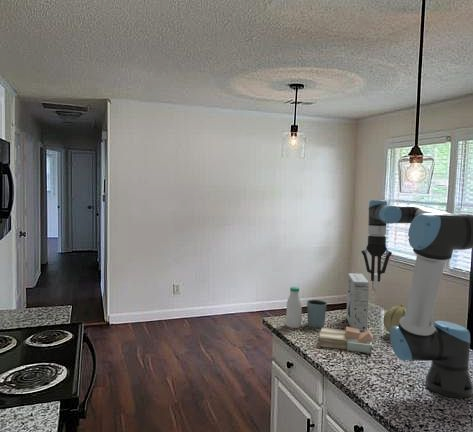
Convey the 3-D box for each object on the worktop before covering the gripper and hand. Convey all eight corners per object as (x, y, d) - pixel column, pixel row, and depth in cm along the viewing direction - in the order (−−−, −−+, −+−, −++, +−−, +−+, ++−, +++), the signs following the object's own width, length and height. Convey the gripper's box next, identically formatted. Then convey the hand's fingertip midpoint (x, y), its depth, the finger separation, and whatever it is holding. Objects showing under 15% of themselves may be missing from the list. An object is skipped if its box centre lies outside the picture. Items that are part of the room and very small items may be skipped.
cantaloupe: (383, 339, 197) (385, 308, 196) (381, 329, 211) (383, 300, 210) (417, 343, 193) (419, 311, 192) (413, 333, 207) (414, 303, 206)
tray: (371, 353, 180) (371, 345, 180) (346, 350, 183) (347, 342, 183) (370, 340, 196) (370, 333, 195) (347, 338, 198) (348, 330, 198)
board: (346, 349, 184) (346, 340, 184) (319, 345, 187) (319, 337, 187) (347, 338, 197) (347, 330, 197) (321, 335, 201) (321, 327, 201)
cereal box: (346, 317, 231) (347, 273, 229) (360, 318, 230) (362, 273, 228) (351, 330, 209) (353, 281, 208) (367, 331, 208) (369, 282, 207)
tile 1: (358, 339, 186) (359, 333, 186) (344, 336, 188) (345, 330, 188) (358, 335, 192) (359, 329, 192) (345, 332, 194) (346, 326, 193)
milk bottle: (300, 329, 210) (302, 289, 209) (285, 327, 212) (286, 288, 210) (301, 324, 218) (302, 286, 216) (286, 323, 219) (287, 285, 218)
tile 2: (357, 340, 187) (361, 346, 186) (368, 333, 185) (373, 338, 185) (357, 336, 192) (361, 341, 192) (368, 328, 191) (372, 334, 190)
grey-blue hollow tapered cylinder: (303, 322, 221) (303, 300, 220) (320, 321, 224) (320, 299, 223) (312, 328, 211) (312, 305, 210) (329, 327, 214) (330, 304, 213)
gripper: (391, 235, 185) (389, 288, 186) (361, 234, 188) (359, 286, 189) (393, 236, 177) (392, 291, 178) (362, 235, 180) (360, 289, 181)
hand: (375, 288), depth 183 cm, fingers closed
